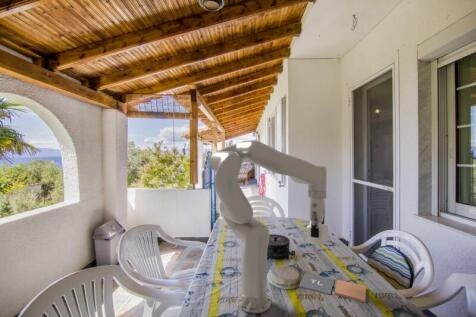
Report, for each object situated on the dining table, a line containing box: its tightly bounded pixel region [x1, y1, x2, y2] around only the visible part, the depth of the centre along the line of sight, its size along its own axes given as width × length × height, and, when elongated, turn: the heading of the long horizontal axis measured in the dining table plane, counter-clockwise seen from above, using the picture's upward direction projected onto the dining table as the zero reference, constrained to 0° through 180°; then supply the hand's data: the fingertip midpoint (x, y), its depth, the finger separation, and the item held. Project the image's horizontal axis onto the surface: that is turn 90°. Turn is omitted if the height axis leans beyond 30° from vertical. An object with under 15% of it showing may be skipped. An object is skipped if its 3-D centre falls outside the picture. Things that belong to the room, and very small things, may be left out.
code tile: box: [298, 272, 335, 296], centre depth 106 cm, size 13×13×1 cm
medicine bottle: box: [305, 218, 329, 247], centre depth 106 cm, size 7×7×12 cm
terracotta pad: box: [334, 279, 367, 303], centre depth 100 cm, size 11×11×1 cm
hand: (316, 234), depth 106 cm, fingers closed on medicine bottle, 7 cm apart
